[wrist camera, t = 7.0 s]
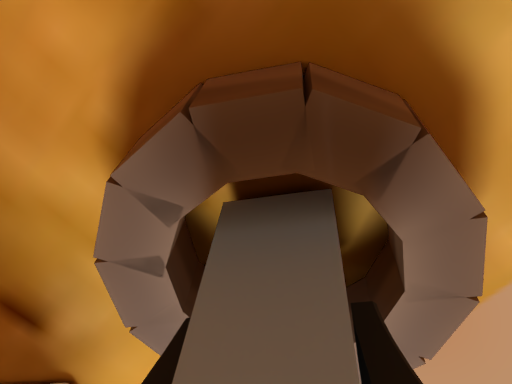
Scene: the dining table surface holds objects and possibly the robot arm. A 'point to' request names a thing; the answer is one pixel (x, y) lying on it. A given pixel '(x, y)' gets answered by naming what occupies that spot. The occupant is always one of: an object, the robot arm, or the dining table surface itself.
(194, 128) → the walnut ring
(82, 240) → the dining table surface
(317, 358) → the slate peg
